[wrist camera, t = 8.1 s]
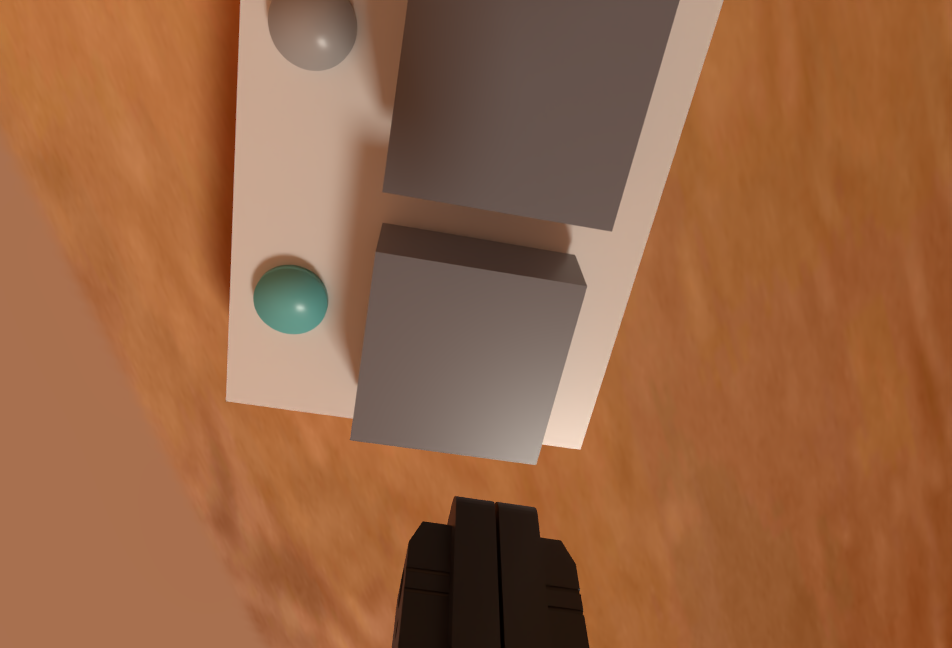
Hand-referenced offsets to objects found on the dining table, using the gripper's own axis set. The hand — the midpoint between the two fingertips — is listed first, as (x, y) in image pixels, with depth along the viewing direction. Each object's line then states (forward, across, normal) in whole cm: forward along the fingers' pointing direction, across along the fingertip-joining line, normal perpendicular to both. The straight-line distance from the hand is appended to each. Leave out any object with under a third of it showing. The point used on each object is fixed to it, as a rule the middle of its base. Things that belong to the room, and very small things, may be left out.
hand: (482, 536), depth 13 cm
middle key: (+7, 0, -7) cm, 10 cm away
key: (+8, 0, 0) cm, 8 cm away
